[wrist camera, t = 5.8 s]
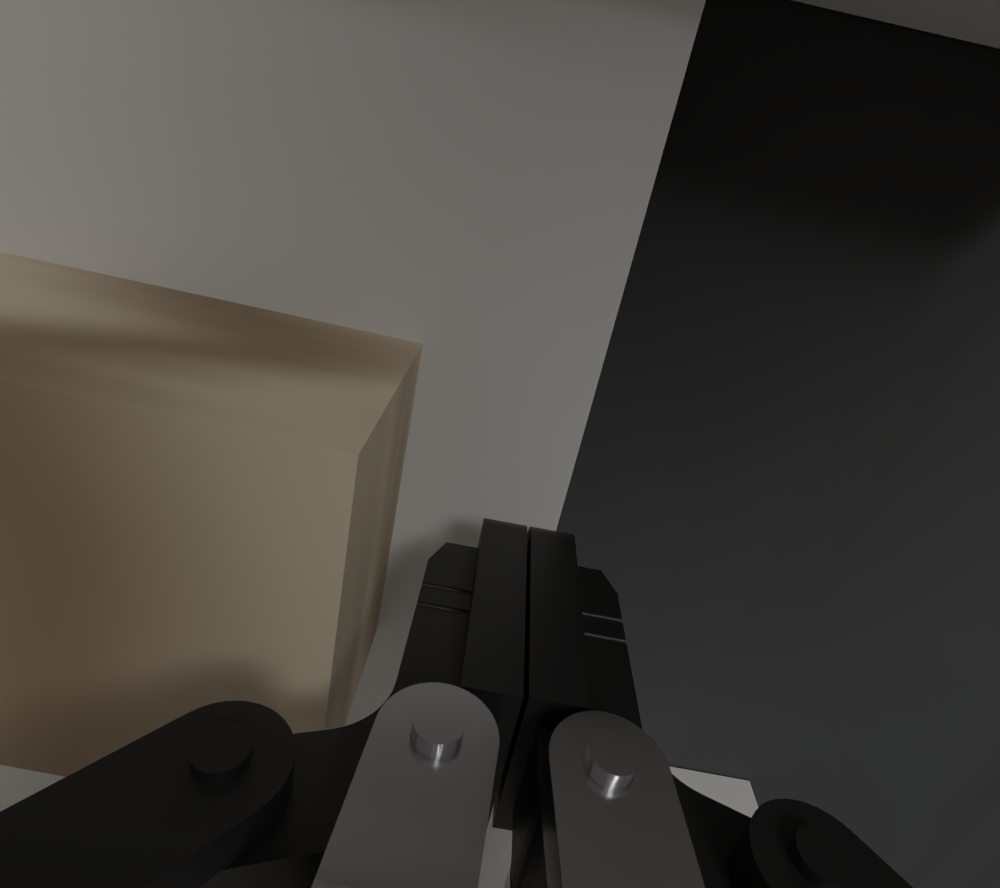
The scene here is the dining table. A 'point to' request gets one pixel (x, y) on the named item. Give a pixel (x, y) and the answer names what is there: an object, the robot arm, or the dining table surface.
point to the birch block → (185, 509)
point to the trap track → (380, 213)
